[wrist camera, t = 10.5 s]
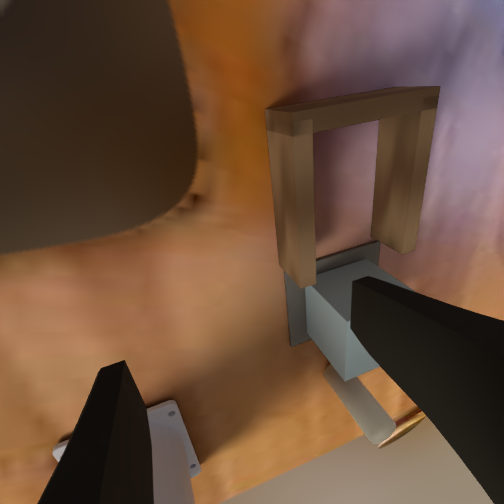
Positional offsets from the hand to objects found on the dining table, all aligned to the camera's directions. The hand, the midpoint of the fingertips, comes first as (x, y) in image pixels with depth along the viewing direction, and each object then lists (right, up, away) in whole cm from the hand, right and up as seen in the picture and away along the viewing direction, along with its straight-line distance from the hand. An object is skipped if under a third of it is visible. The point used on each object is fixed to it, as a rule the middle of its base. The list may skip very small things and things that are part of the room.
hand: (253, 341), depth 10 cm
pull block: (+7, -3, +15) cm, 17 cm away
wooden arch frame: (+5, +7, +10) cm, 13 cm away
